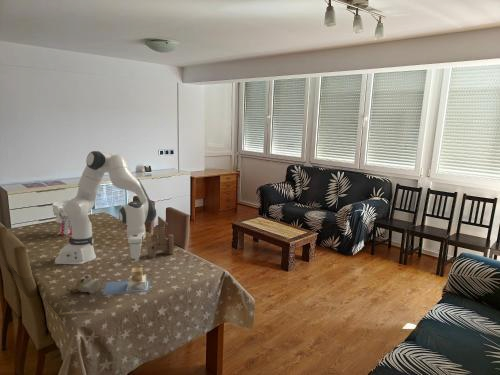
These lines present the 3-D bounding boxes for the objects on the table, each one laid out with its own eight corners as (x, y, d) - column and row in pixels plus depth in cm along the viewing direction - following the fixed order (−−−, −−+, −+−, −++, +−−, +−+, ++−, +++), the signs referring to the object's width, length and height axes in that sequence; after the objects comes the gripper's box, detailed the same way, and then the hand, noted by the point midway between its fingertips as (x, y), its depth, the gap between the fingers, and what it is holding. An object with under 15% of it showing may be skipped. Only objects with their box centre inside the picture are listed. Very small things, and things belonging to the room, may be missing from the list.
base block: (128, 290, 178) (128, 282, 178) (130, 283, 186) (130, 276, 185) (145, 289, 180) (145, 281, 180) (146, 282, 188) (146, 275, 187)
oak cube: (131, 281, 180) (131, 272, 179) (132, 277, 184) (132, 267, 183) (142, 280, 181) (141, 271, 180) (142, 276, 186) (142, 267, 185)
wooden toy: (150, 258, 222) (149, 219, 217) (147, 254, 228) (146, 217, 223) (174, 254, 230) (174, 216, 226) (170, 251, 236) (170, 214, 231)
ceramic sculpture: (91, 281, 170) (64, 279, 173) (92, 298, 171) (66, 295, 175) (105, 272, 180) (79, 270, 183) (106, 289, 181) (81, 286, 185)
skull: (51, 231, 266) (49, 201, 261) (78, 227, 277) (77, 199, 273) (57, 241, 246) (55, 209, 242) (87, 236, 258) (85, 205, 253)
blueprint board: (102, 297, 173) (102, 294, 173) (106, 284, 186) (106, 282, 186) (149, 293, 178) (149, 291, 178) (150, 281, 191) (150, 279, 191)
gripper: (131, 228, 187) (132, 253, 190) (127, 241, 168) (128, 268, 170) (144, 227, 189) (144, 252, 191) (141, 240, 169) (142, 267, 172)
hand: (137, 260), depth 181 cm, fingers closed
